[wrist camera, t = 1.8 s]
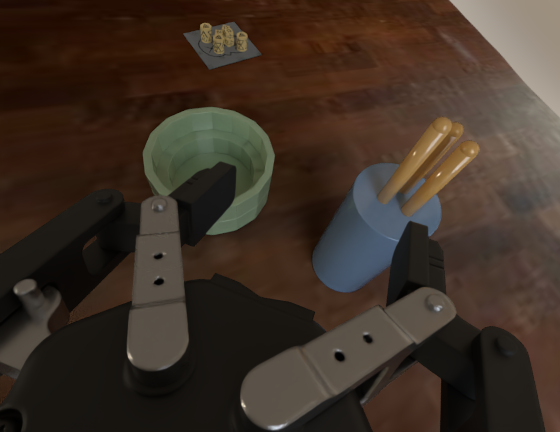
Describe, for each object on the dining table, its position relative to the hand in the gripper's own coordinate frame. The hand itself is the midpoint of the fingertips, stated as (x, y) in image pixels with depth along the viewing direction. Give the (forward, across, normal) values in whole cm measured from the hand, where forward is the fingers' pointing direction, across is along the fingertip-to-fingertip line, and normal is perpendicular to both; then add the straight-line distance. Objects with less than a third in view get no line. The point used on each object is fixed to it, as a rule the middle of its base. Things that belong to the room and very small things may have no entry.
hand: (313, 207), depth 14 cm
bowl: (+13, +12, +11) cm, 21 cm away
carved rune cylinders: (+32, +22, +1) cm, 39 cm away
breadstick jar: (+12, -2, +14) cm, 18 cm away
